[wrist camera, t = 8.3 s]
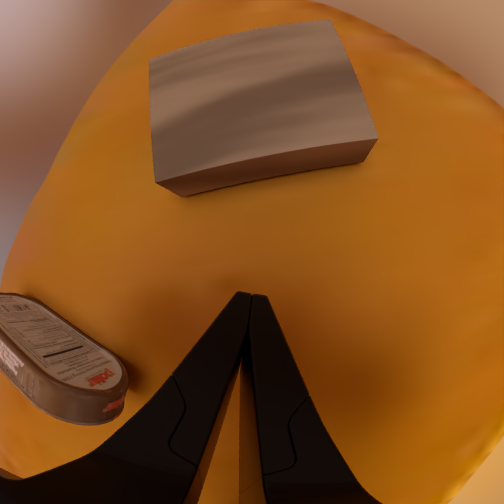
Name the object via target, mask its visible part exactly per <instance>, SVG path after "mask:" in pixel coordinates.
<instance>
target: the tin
mask: <svg viewBox="0 0 504 504" xmlns="http://www.w3.org/2000/svg"><path fill="white" fill-rule="evenodd" d="M0 370H1V371H2V373H3V374H4V375H5V376H6V377H7V378H8V379H9V380H10V381H11V383H12V384H13V385H14V386H15V387H16V388H17V389H18V390H19V391H20V392H21V393H22V394H23V395H24V396H25V397H26V398H27V399H28V400H29V401H30V402H31V403H32V404H33V405H34V406H36V407H37V408H38V409H40V410H41V411H43V412H44V413H46V414H48V415H50V416H52V417H54V418H56V419H59V420H62V421H65V422H68V423H72V424H77V425H90V426H91V425H100V424H105V423H108V422H110V421H113V420H114V419H115V418H117V417H118V416H119V415H120V414H121V412H122V411H123V408H124V399H125V396H126V392H127V389H128V384H129V377H128V372H127V370H126V368H125V366H124V365H123V363H122V362H121V361H120V360H119V359H118V358H117V357H116V356H115V355H114V354H113V353H111V352H110V351H109V350H107V349H106V348H104V347H103V346H101V345H100V344H98V343H97V342H95V341H94V340H92V339H91V338H89V337H88V336H87V335H85V334H84V333H82V332H81V331H80V330H78V329H77V328H75V327H74V326H73V325H71V324H70V323H68V322H67V321H66V320H64V319H63V318H62V317H60V316H59V315H58V314H56V313H55V312H54V311H52V310H51V309H50V308H48V307H47V306H45V305H44V304H42V303H40V302H38V301H36V300H34V299H32V298H29V297H27V296H24V295H20V294H17V293H0Z"/></svg>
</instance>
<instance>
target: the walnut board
mask: <svg viewBox="0 0 504 504" xmlns="http://www.w3.org/2000/svg"><path fill="white" fill-rule="evenodd" d="M149 95H150V120H151V138H152V152H153V164H154V176H155V183H157V184H159V185H161V186H162V187H164V188H166V189H168V190H170V191H172V192H173V193H175V194H177V195H179V196H181V197H183V196H187V195H191V194H195V193H200V192H204V191H208V190H213V189H217V188H221V187H226V186H230V185H235V184H240V183H244V182H249V181H254V180H259V179H264V178H269V177H274V176H280V175H285V174H290V173H296V172H301V171H307V170H313V169H319V168H325V167H331V166H338V165H344V164H351V163H358V162H363V161H364V160H365V158H366V157H367V155H368V154H369V152H370V151H371V149H372V148H373V146H374V144H375V143H376V141H377V140H378V135H377V132H376V129H375V126H374V123H373V120H372V117H371V114H370V111H369V109H368V106H367V103H366V100H365V98H364V95H363V92H362V90H361V87H360V84H359V82H358V79H357V77H356V74H355V72H354V70H353V67H352V65H351V62H350V60H349V58H348V56H347V53H346V51H345V49H344V47H343V44H342V42H341V40H340V38H339V36H338V34H337V32H336V30H335V28H334V26H333V24H332V22H331V20H318V21H307V22H298V23H290V24H283V25H276V26H270V27H264V28H259V29H254V30H249V31H244V32H239V33H235V34H230V35H226V36H222V37H218V38H214V39H211V40H207V41H203V42H200V43H196V44H193V45H190V46H186V47H183V48H180V49H177V50H174V51H171V52H168V53H165V54H163V55H160V56H157V57H154V58H152V59H149Z"/></svg>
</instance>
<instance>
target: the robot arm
mask: <svg viewBox="0 0 504 504" xmlns="http://www.w3.org/2000/svg"><path fill="white" fill-rule="evenodd" d="M240 363H241V369H240V433H239V495H240V496H239V504H382V503H380V502H379V501H378V500H376V499H375V498H374V497H372V496H371V495H370V494H369V493H368V492H367V491H366V490H365V489H364V488H363V487H362V486H361V484H360V483H359V482H358V480H357V479H356V477H355V476H354V474H353V473H352V471H351V470H350V468H349V466H348V465H347V463H346V462H345V460H344V458H343V457H342V455H341V454H340V452H339V450H338V449H337V447H336V445H335V444H334V442H333V440H332V439H331V437H330V435H329V433H328V432H327V430H326V428H325V426H324V425H323V422H322V420H321V418H320V416H319V414H318V412H317V410H316V408H315V405H314V403H313V401H312V399H311V397H310V396H308V395H309V392H308V390H307V387H306V385H305V383H304V380H303V378H302V376H301V374H300V371H299V369H298V367H297V364H296V362H295V360H294V357H293V355H292V353H291V350H290V348H289V346H288V343H287V341H286V339H285V337H284V334H283V332H282V330H281V327H280V325H279V323H278V320H277V318H276V316H275V313H274V311H273V309H272V306H271V304H270V302H269V299H268V297H267V296H265V295H259V294H253V295H251V293H247V292H241V291H238V292H236V293H235V295H234V296H233V297H232V299H231V300H230V301H229V302H228V304H227V305H226V306H225V307H224V309H223V310H222V311H221V313H220V314H219V315H218V316H217V318H216V319H215V320H214V321H213V323H212V324H211V325H210V326H209V328H208V329H207V330H206V332H205V333H204V334H203V335H202V337H201V338H200V339H199V340H198V342H197V343H196V344H195V345H194V347H193V348H192V349H191V350H190V352H189V353H188V354H187V355H186V357H185V358H184V359H183V360H182V362H181V363H180V364H179V365H178V367H177V368H176V369H175V370H174V372H173V373H172V375H171V376H169V378H168V379H167V380H166V381H165V383H164V384H163V385H162V386H161V388H160V389H159V390H158V391H157V392H156V393H155V394H154V396H153V397H152V398H151V399H150V400H149V401H148V402H147V403H146V404H145V405H144V406H143V407H142V408H141V409H140V410H139V411H138V412H137V413H136V414H135V415H134V416H133V417H132V418H130V419H129V420H128V421H127V422H126V423H125V424H124V425H123V426H122V427H121V428H119V429H118V430H117V431H116V432H115V433H114V434H113V435H112V436H111V437H110V438H108V439H107V440H106V441H105V442H104V443H103V444H101V445H100V446H99V447H98V448H96V449H95V450H93V451H92V452H90V453H89V454H87V455H85V456H83V457H81V458H78V459H76V460H73V461H71V462H69V463H66V464H64V465H61V466H58V467H56V468H53V469H51V470H48V471H45V472H43V473H40V474H37V475H34V476H31V477H28V478H24V479H23V478H20V477H18V476H16V475H14V474H12V473H10V472H8V471H6V470H4V469H2V468H0V504H197V503H198V500H199V497H200V494H201V489H202V488H203V485H204V482H205V478H206V475H207V472H208V469H209V466H210V463H211V460H212V456H213V453H214V450H215V447H216V444H217V440H218V437H219V434H220V431H221V428H222V424H223V421H224V418H225V414H226V411H227V408H228V405H229V401H230V398H231V395H232V391H233V388H234V385H235V381H236V378H237V375H238V371H239V367H240Z"/></svg>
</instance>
